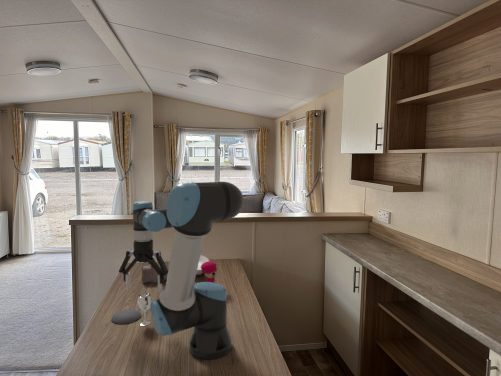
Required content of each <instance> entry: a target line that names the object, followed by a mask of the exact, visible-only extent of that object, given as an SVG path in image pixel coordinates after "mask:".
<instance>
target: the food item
mask: <svg viewBox="0 0 501 376" xmlns="http://www.w3.org/2000/svg"><path fill="white" fill-rule="evenodd" d="M158 265H159V264H158ZM159 267H160V265H159ZM158 276H159V274H158V273H157V272H156V271H155V270H154V268H153V267H152V266H151V265H144V266H142V267H141V282H142V284H146V283H153V284H154V283H158ZM167 277H168V274H167V275H164V282H165V281H166V280H167Z"/></svg>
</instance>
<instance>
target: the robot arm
mask: <svg viewBox="0 0 501 376" xmlns="http://www.w3.org/2000/svg"><path fill="white" fill-rule="evenodd" d="M244 203H245V202H244V196H243V193H242V191H241V190H240V188H238V186H236V185H235V184H234V183H231V182H228V181H210V182H208V181H206V182H195V181H194V182H193V181H191V182H190V181H189V182H186V183H185V182H184V183H178V184H176V185H175V186H173V187H172V189H171V190H170V191H169V194H168V196H167V200H166V208H161V209H154V208H153V207H154V206H153V203H152V202H151V201H150V200H148V201H147V200H142V201H135V202H134V203H132V226H133V227H132V229H133V233H132V234H133V238H132V239H133V250H132V249H128V250H126V251H125V257H124V259H123V261H122V263H121V265H120V268H119V270H118V273H120V274H123V282H125V291H128V290H129V289H131V287H132V286H131V278H132V277H131V272H130V271H131V270H132V269H133V267H134V266H135V265H136V264H137V263H148V264H149V266H152V267H153V268H154V270H155V271H156V272H157V273H158V274H159V276H158V282H157V293H159V296H158V299H154V300H152V302H151V305H150V309H149V310H150V316H151V319H152V323H153V326H154V329H155V331H156V333H157V334H158V335H160V336H162V337H165V336H170V335H171V336H172V335H174V334H177V333H179V332H182V331H186V330H188V329H191V328H193V329H192V333H191V336H190V340H189V344H188V347H189V352H190V354H191V355H193V357H195V358H198V359H203V360H214V359H215V360H216V359H219V358H222V357H224V356H226V355H227V354H228V353H230V351H231V349H232V338H231V334H230V331H229V329H228V327H227V323H228V322H227V315H228V314H227V307H228V306H227V304H228V303H227V301H228V296H227V295H228V294H227V290H226V288H225V286H223V285H222V284H219V283H217V282H214V283H212V282H207V281H202V282H196V283H195V280H196V277H197V275H196V272H197V268H198V263H199V258H200V255H201V252H202V249H203V244H204V240H205V236H207V235H209V234H210V233H211V231H212V228H213V227H212V226H213V223H214V222H222V221H226V220H227V221H228V220H230V219H233V218H235V217H237V216H238V215H239V214H240V213H241V212H242V210H243V208H244V207H243V206H244ZM170 228H171V229H173V230H174V231H175V232H174V238H173V244H172V245H173V246H172V249H171V256H170V260H169V266H168V267H169V268H168V267H167V265H166V263H165V261H164V259H163V257H162V252H161V251H160V250H158V251H154V239H153V238H154V235H153V233H157V232H161V231H162V230H164V229H170ZM132 256H133V257H134V258H133V260H132V261H131V262H130V263H129V261H130V259H131V257H132ZM154 257H155V258H156V259H155V258H154ZM128 263H129V265H128ZM159 265H160V267H159ZM167 274H168V275H167ZM164 275H167V279H166V283H165V286H164V287H163V284H164V282H165V281H164Z"/></svg>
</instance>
